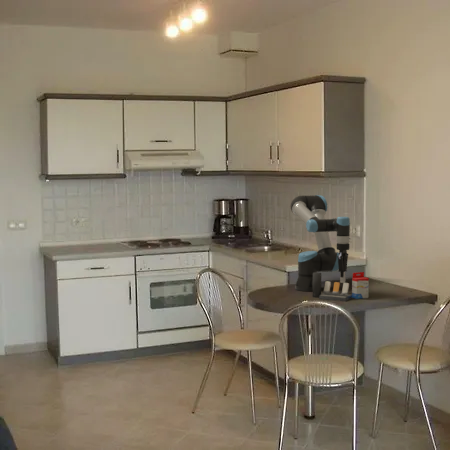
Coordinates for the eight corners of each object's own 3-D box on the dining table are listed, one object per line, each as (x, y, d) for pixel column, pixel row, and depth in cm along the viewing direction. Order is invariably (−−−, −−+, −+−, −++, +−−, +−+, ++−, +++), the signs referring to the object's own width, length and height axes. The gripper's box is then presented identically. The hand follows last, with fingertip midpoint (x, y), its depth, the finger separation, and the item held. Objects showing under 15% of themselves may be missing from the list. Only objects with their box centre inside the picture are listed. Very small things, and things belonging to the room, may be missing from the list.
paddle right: (341, 294, 409) (343, 282, 411) (342, 294, 411) (344, 283, 413) (346, 294, 408) (348, 283, 410) (347, 295, 409) (349, 283, 411)
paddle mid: (332, 293, 412) (334, 281, 414) (333, 293, 413) (335, 282, 415) (337, 293, 411) (339, 282, 412) (338, 294, 412) (340, 283, 414)
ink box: (356, 299, 410) (357, 274, 409) (351, 297, 415) (351, 272, 413) (368, 297, 414) (369, 272, 413) (363, 296, 418) (363, 271, 417)
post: (311, 297, 417) (311, 273, 416) (314, 295, 421) (314, 272, 420) (319, 297, 415) (319, 274, 413) (322, 296, 419) (322, 272, 418)
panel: (319, 298, 412) (319, 294, 411) (325, 295, 421) (325, 291, 421) (345, 301, 404) (345, 296, 404) (351, 298, 414) (352, 293, 413)
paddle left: (323, 292, 415) (325, 281, 417) (324, 293, 416) (326, 281, 418) (328, 292, 413) (330, 281, 415) (329, 293, 414) (331, 282, 416)
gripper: (345, 244, 413) (345, 284, 415) (352, 242, 424) (352, 281, 426) (333, 243, 416) (332, 283, 418) (340, 241, 428) (340, 280, 430)
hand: (342, 282), depth 422 cm, fingers closed
